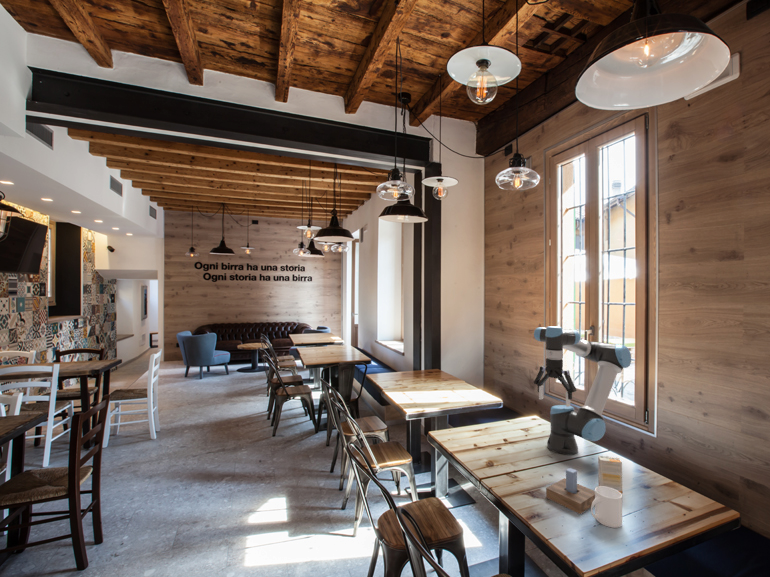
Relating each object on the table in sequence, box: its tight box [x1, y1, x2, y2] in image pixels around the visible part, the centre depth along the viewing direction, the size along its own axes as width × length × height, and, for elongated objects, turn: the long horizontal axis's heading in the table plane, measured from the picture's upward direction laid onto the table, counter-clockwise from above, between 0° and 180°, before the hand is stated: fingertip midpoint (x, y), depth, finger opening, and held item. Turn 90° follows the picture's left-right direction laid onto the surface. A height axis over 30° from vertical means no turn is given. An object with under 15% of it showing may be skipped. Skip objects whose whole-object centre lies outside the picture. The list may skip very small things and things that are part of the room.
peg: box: [565, 467, 578, 494], centre depth 150 cm, size 3×3×12 cm
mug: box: [590, 485, 623, 529], centre depth 135 cm, size 9×12×11 cm
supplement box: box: [597, 455, 623, 494], centre depth 158 cm, size 8×5×13 cm, turn 71°
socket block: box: [545, 477, 595, 515], centre depth 150 cm, size 14×14×4 cm
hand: (554, 402), depth 177 cm, fingers open, 13 cm apart
